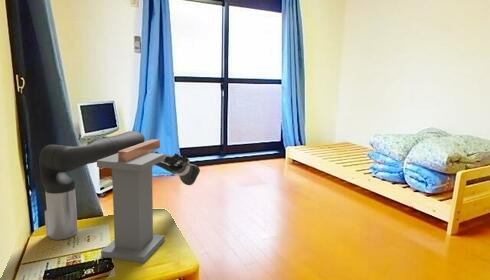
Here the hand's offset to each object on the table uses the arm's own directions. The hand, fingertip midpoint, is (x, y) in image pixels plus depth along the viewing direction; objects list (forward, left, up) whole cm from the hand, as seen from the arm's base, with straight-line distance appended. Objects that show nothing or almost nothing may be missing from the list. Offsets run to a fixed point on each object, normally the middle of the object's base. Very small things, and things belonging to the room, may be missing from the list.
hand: (165, 154), depth 127 cm
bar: (0, -19, +5) cm, 19 cm away
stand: (0, -24, -27) cm, 37 cm away
